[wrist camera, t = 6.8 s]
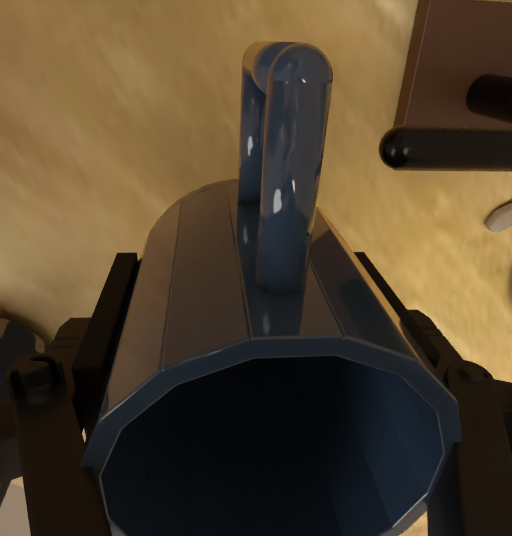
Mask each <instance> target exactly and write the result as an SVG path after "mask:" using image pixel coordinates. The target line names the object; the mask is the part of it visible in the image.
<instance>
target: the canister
mask: <svg viewBox="0 0 512 536" xmlns="http://www.w3.org/2000/svg"><path fill="white" fill-rule="evenodd" d="M48 349H49V348H48V347H47V345H46V344H45V343H44V341H43V340H42V339H41V338H40V337H39V336H37V335H36V334H35V333H34V332H32V331H31V330H29V329H27V328H26V327H24V326H22V325H20V324H17V323H15V322H12V321H10V320H7V319H2V318H0V403H2V402H5V401H8V400H10V399H11V398H10V395H9V392H8V389H7V386H6V383H5V380H4V377H5V373H6V371H7V369H8V368H9V367H10V366H11V365H12V364H13V363H15V362H16V361H17V360H19V359H21V358H23V357H26V356H28V355H31V354H37V353H47V352H48ZM10 482H11V480H10V481H7V482H4V483H1V487H0V506H1V504H2V501H3V499H4V496H5V494H6V491H7V489H8V487H9V484H10Z"/></svg>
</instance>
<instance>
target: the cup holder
mask: <svg viewBox="0 0 512 536" xmlns="http://www.w3.org/2000/svg"><path fill="white" fill-rule="evenodd" d="M379 155H380V158H381V160H382V161H383V163H384V164H385V165H387V166H388V167H390V168H392V169H394V170H419V171H512V3H509V2H493V1H478V0H419V2H418V7H417V12H416V17H415V22H414V27H413V32H412V37H411V42H410V47H409V52H408V57H407V62H406V68H405V73H404V78H403V83H402V88H401V93H400V98H399V103H398V108H397V113H396V118H395V123H394V127H393V128H391V129H390V130H388V131H387V132H386V133H385V134H384V136H383V137H382V139H381V141H380V144H379Z"/></svg>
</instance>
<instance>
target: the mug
mask: <svg viewBox="0 0 512 536" xmlns="http://www.w3.org/2000/svg"><path fill="white" fill-rule="evenodd" d="M332 83H333V72H332V67H331V64H330V61H329V59H328V58H327V56H326V55H325V54H324V52H323V51H322V50H320V49H319V48H318V47H316V46H314V45H312V44H308V43H298V42H276V41H257V42H255V43H253V44H251V45H250V46H249V47H248V48H247V49H246V51H245V53H244V55H243V59H242V83H241V113H240V143H239V172H238V179H231V180H225V181H219V182H215V183H212V184H209V185H206V186H203V187H201V188H199V189H196V190H194V191H192V192H190V193H188V194H187V195H185V196H184V197H182V198H180V199H179V200H177V201H176V202H175V203H174V204H173V205H172V206H170V207H169V208H168V209H167V210H166V211H165V212H164V213H163V214H162V215H161V217H160V218H159V219H158V220H157V222H156V223H155V225H154V226H153V227H152V229H151V230H150V232H149V235H148V237H147V239H146V241H145V244H144V247H143V250H142V253H141V256H140V258H139V261H138V263H137V266H136V269H135V273H134V276H133V280H132V283H131V287H130V290H129V293H128V297H127V300H126V304H125V307H124V310H123V314H122V317H121V321H120V324H119V328H118V331H117V334H116V338H115V341H114V345H113V348H112V352H111V355H110V358H109V362H108V365H107V369H106V372H105V376H104V379H103V382H102V386H101V389H100V393H99V396H98V399H97V403H96V406H95V410H94V413H93V417H92V420H91V423H90V427H89V430H88V434H87V437H86V441H85V447H84V450H83V454H82V457H81V461H80V464H79V465H80V467H92V469H93V473H94V476H95V479H96V483H97V486H98V489H99V492H100V496H101V499H102V502H103V506H104V509H105V512H106V516H107V519H108V522H109V526H110V529H111V532H112V536H398V535H400V534H402V533H403V532H404V531H406V530H407V529H408V528H409V527H410V526H411V525H412V524H413V523H415V522H416V521H417V520H418V519H419V518H420V517H421V516H422V515H423V514H424V513H425V512H426V511H427V505H428V503H429V500H430V498H431V496H432V493H433V491H434V489H435V486H436V484H437V482H438V479H439V477H440V475H441V472H442V470H443V468H444V465H445V463H446V461H447V459H448V456H449V454H450V452H451V449H452V447H453V445H454V443H458V442H463V436H462V429H461V421H460V414H459V407H458V402H457V399H456V398H455V396H454V395H453V393H452V392H451V391H450V389H449V388H448V386H447V385H446V383H445V382H444V381H443V379H442V378H441V376H440V375H439V374H438V372H437V371H436V369H435V368H434V366H433V365H432V364H431V362H430V361H429V359H428V358H427V356H426V355H425V354H424V352H423V351H422V349H421V348H420V346H419V345H418V344H417V342H416V341H415V339H414V338H413V336H412V335H411V334H410V332H409V331H408V329H407V328H406V327H405V325H404V324H403V322H402V321H401V319H400V318H399V317H398V315H397V314H396V312H395V311H394V309H393V308H392V307H391V305H390V304H389V302H388V301H387V299H386V298H385V297H384V295H383V294H382V292H381V291H380V289H379V288H378V287H377V285H376V284H375V282H374V281H373V280H372V278H371V277H370V275H369V274H368V272H367V271H366V270H365V268H364V267H363V265H362V264H361V262H360V261H359V260H358V258H357V257H356V255H355V254H354V252H353V251H352V250H351V248H350V247H349V245H348V244H347V242H346V241H345V240H344V238H343V237H342V235H341V234H340V233H339V231H338V230H337V229H336V227H335V226H334V225H333V224H332V223H331V222H330V221H329V220H328V218H327V217H326V216H325V214H324V213H323V212H322V210H321V209H320V208H318V207H317V206H316V204H317V197H318V189H319V182H320V174H321V167H322V159H323V151H324V144H325V136H326V129H327V121H328V113H329V106H330V98H331V91H332Z"/></svg>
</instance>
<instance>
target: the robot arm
mask: <svg viewBox="0 0 512 536" xmlns="http://www.w3.org/2000/svg"><path fill="white" fill-rule="evenodd" d="M354 254H355V255H356V257H357V258H358V260H359V261H360V262H361V264H362V265H363V267H364V268H365V270H366V271H367V272H368V274H369V275H370V277H371V278H372V280H373V281H374V282H375V284H376V285H377V287H378V288H379V289H380V291H381V292H382V294H383V295H384V297H385V298H386V299H387V301H388V302H389V304H390V305H391V307H392V308H393V309H394V311H395V312H396V314H397V315H398V317H399V318H400V319H401V321H402V322H403V324H404V325H405V327H406V328H407V329H408V331H409V332H410V334H411V335H412V336H413V338H414V339H415V341H416V342H417V344H418V345H419V346H420V348H421V349H422V351H423V352H424V354H425V355H426V356H427V358H428V359H429V361H430V362H431V364H432V365H433V366H434V368H435V369H436V371H437V372H438V374H439V375H440V376H441V378H442V379H443V381H444V382H445V383H446V385H447V386H448V388H449V389H450V391H451V392H452V393H453V395H454V396H455V398H456V399H457V402H458V407H459V414H460V421H461V429H462V436H463V442H458V443H454V445H453V447H452V449H451V452H450V454H449V456H448V459H447V461H446V463H445V465H444V468H443V470H442V472H441V475H440V477H439V479H438V482H437V484H436V486H435V489H434V491H433V493H432V496H431V498H430V500H429V503H428V505H427V519H428V536H512V383H510V382H505V381H500V380H495V379H493V377H492V375H491V374H490V373H489V372H488V371H487V370H486V369H485V368H483V367H481V366H480V365H478V364H476V363H473V362H470V361H466V360H463V359H462V357H461V356H460V355H459V354H458V352H457V351H456V350H455V349H454V348H453V346H452V345H451V344H450V343H449V341H448V340H447V339H446V338H445V336H443V334H442V333H441V332H440V330H439V329H437V327H436V325H435V324H434V323H433V322H432V320H431V319H430V318H429V317H428V316H426V315H425V314H423V313H422V312H420V311H419V310H407V309H406V308H405V306H404V305H403V304H402V302H401V301H400V300H399V298H398V297H397V296H396V294H395V293H394V292H393V290H392V289H391V288H390V286H389V285H388V284H387V282H386V281H385V280H384V278H383V277H382V276H381V274H380V273H379V272H378V271H377V269H376V268H375V267H374V265H373V264H372V263H371V261H370V260H369V259H368V257H367V256H366V255H365V253H364V252H354ZM137 263H138V258H137V253H117V255H116V257H115V260H114V262H113V265H112V267H111V270H110V272H109V275H108V277H107V280H106V282H105V285H104V287H103V290H102V292H101V295H100V297H99V300H98V302H97V305H96V307H95V310H94V312H93V315H92V317H91V318H70V319H69V320H68V321H66V322H65V323H64V324H63V325H62V326H61V327H59V329H58V331H57V333H56V335H55V337H54V340H53V341H52V343H51V345H50V349H48V352H47V353H37V354H31V355H28V356H26V357H23V358H21V359H19V360H17V361H16V362H15V363H13V364H12V365H11V366H10V367H9V368H8V369H7V371H6V373H5V377H4V380H5V383H6V386H7V389H8V392H9V395H10V398H11V399H10V400H8V401H5V402H2V403H0V487H1V483H4V482H7V481H10V480H13V479H16V478H19V477H22V476H23V483H24V490H25V497H26V504H27V511H28V519H29V525H30V532H31V536H112V532H111V529H110V526H109V522H108V519H107V516H106V512H105V509H104V506H103V502H102V499H101V496H100V492H99V489H98V486H97V483H96V479H95V476H94V473H93V469H92V467H80V465H79V464H80V461H81V457H82V454H83V450H84V447H85V443H84V439H83V436H82V432H83V428H84V430H85V434H86V437H87V434H88V430H89V427H90V423H91V420H92V417H93V413H94V410H95V406H96V403H97V399H98V396H99V393H100V389H101V386H102V382H103V379H104V376H105V372H106V369H107V365H108V362H109V358H110V355H111V352H112V348H113V345H114V341H115V338H116V334H117V331H118V328H119V324H120V321H121V317H122V314H123V310H124V307H125V304H126V300H127V297H128V293H129V290H130V287H131V283H132V280H133V276H134V273H135V269H136V266H137Z"/></svg>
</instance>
